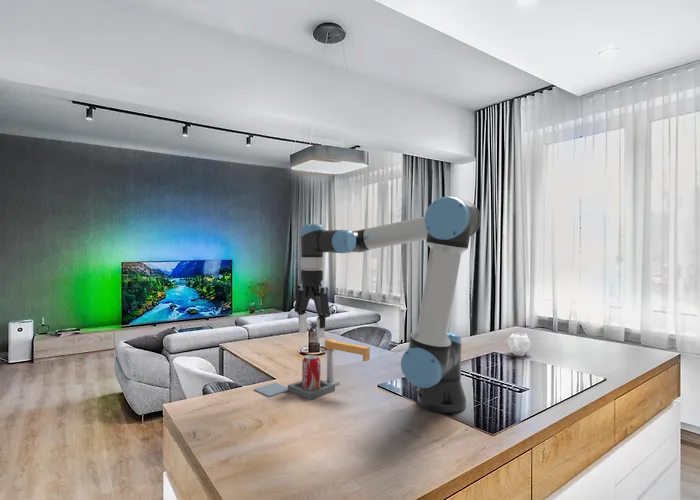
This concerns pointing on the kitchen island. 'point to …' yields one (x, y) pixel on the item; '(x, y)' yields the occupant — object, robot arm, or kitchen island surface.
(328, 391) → the square ring with handle
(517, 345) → the white rounded lump
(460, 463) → the kitchen island surface
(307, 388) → the beverage can
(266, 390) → the rubber mat
